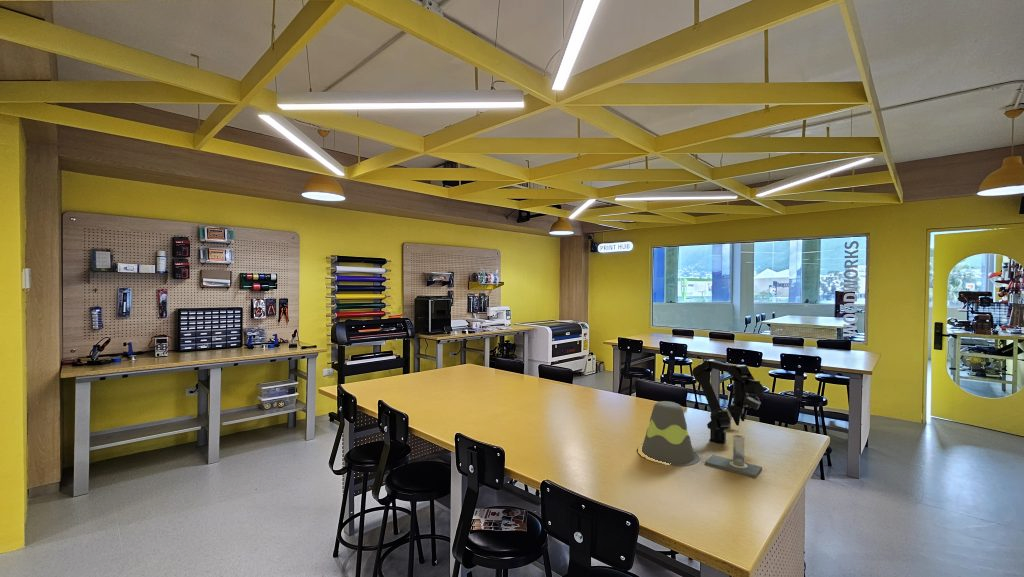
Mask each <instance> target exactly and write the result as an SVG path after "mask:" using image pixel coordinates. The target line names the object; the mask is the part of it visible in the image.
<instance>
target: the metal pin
mask: <svg viewBox="0 0 1024 577" xmlns="http://www.w3.org/2000/svg"><path fill="white" fill-rule="evenodd" d="M745 442H746V441H745V437H744V436H743V435H733V436H732V460H733V464H734V465H736V466H740V467H743V466H744V463H745Z"/></svg>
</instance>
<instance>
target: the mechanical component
mask: <svg viewBox="0 0 1024 577" xmlns="http://www.w3.org/2000/svg"><path fill="white" fill-rule="evenodd" d="M721 409H722V410H723V411H727V412H728V416H729V417H730V424H729V426H728V429H729V428H731V426H732V425H731V424H732V419H733V417H732V416H731V414H730V412H729V411H728V408H721Z"/></svg>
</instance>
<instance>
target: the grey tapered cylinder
mask: <svg viewBox="0 0 1024 577" xmlns="http://www.w3.org/2000/svg"><path fill="white" fill-rule="evenodd" d="M686 420H687V419H686V417H685V413H684V408H683V407H682V405H681V404H679V403H676V402H674V401H669V400H667V401H666V400H663V401H657V402H655V404H654V405H653V409H652V412H651V415H650V419H649V424H648V427H647V429H646V432H645V437H644V440H643V443H642V445H643V446H642V452H643V453H644V454H645V455H647V456H648V457H650V458H653V459H655V460H658V461H662V462H666V463H669V464H670V463H671V464H670V465H674V466H673V467H689V466H693V465H696V464H697V463H699V462H700V460H701V458H700V455H699V454H698V453H697V452H695V451H694V449H693V445H692V441H691V437H690V435H689V431H688V426H687V421H686ZM698 461H699V462H698ZM695 463H696V464H695Z"/></svg>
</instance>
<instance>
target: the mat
mask: <svg viewBox="0 0 1024 577" xmlns="http://www.w3.org/2000/svg"><path fill="white" fill-rule="evenodd" d="M704 465H706V466H709V467H714V468H717V469H721V470H724V471H725V470H726V471H728V472H732V473H736V474H740V475H744V476H748V477H751V478H755V479H756V478H757V477H758V475H759V474H760V473H761V471H762V470H763V467H762V466H760V465H756V464H752V463H748V462H744V466H743V467H740V466H736V465H734V464H733V458H727V457H724V456H720V455H716V454H711V455H710V457H709V458H707V459H706V460H704Z"/></svg>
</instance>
